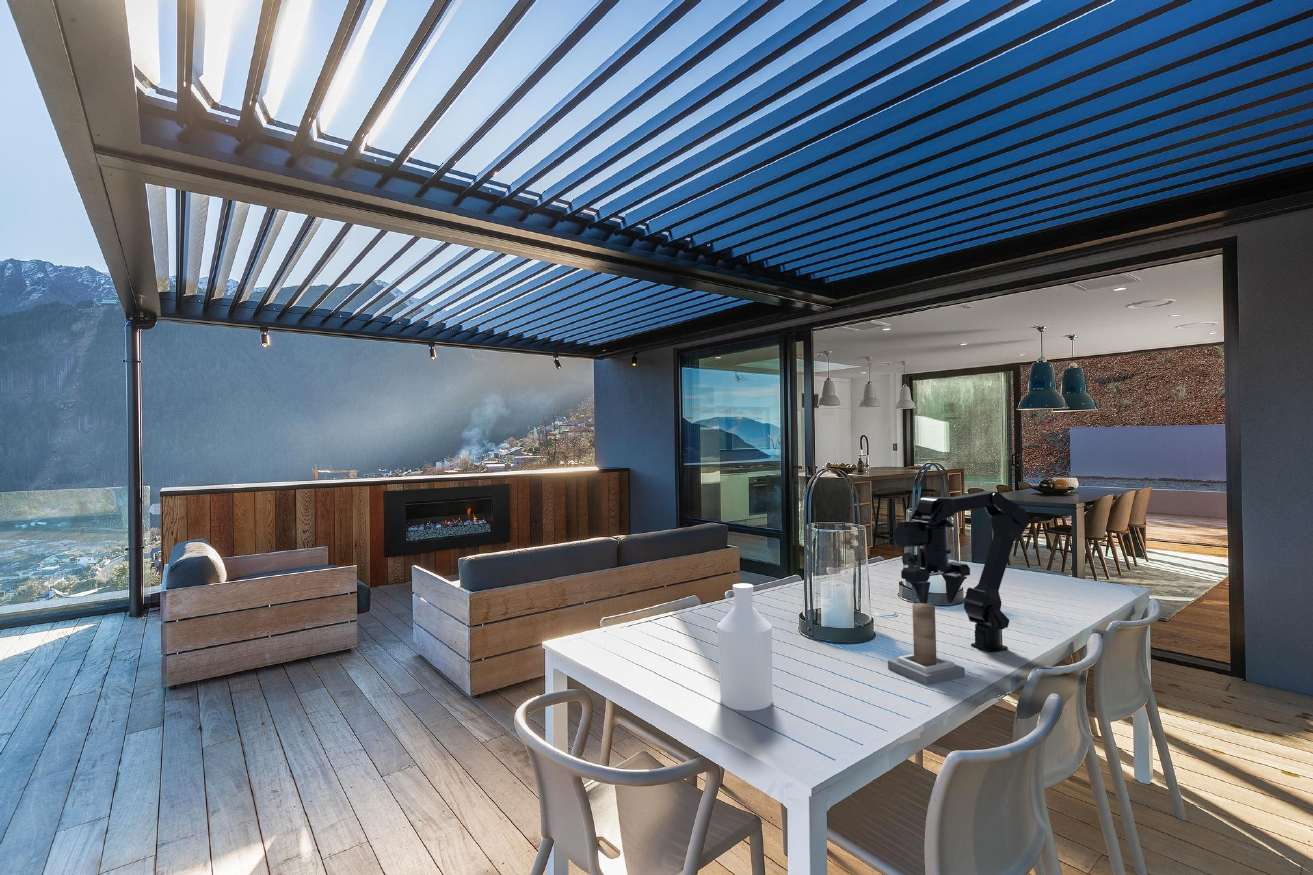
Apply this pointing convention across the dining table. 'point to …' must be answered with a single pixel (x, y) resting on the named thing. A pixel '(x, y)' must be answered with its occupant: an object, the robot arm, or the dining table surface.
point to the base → (926, 669)
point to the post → (924, 634)
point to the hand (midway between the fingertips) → (937, 604)
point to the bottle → (745, 654)
